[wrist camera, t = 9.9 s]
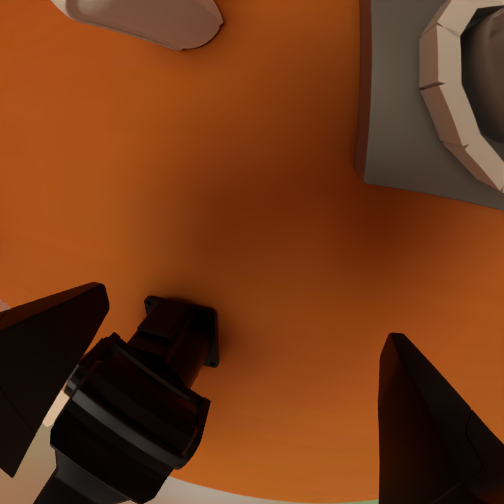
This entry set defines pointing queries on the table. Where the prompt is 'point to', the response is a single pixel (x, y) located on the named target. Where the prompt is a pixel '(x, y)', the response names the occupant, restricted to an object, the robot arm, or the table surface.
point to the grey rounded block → (485, 73)
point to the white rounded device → (150, 19)
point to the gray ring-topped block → (423, 102)
